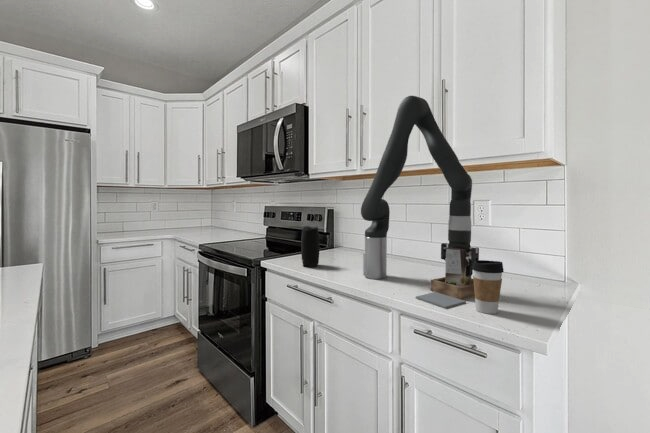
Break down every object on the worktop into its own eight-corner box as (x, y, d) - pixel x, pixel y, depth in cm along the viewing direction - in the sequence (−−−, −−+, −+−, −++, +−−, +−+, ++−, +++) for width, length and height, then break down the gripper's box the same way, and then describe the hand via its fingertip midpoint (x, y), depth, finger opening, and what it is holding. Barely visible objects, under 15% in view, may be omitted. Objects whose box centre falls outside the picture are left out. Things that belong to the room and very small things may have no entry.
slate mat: (415, 298, 110) (415, 296, 110) (435, 293, 115) (435, 291, 115) (445, 308, 99) (445, 306, 99) (465, 303, 105) (465, 301, 105)
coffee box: (463, 296, 111) (464, 250, 110) (444, 293, 115) (445, 248, 114) (471, 290, 118) (472, 246, 117) (453, 287, 122) (454, 245, 121)
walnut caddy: (430, 290, 118) (430, 279, 118) (456, 284, 126) (456, 274, 125) (460, 299, 108) (460, 288, 107) (486, 293, 115) (486, 281, 115)
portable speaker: (321, 264, 164) (321, 226, 163) (314, 268, 156) (314, 227, 154) (306, 263, 167) (306, 225, 166) (298, 267, 159) (298, 227, 157)
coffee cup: (493, 317, 92) (495, 265, 91) (465, 309, 99) (466, 260, 98) (507, 311, 97) (509, 261, 96) (480, 304, 104) (481, 257, 103)
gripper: (436, 227, 119) (435, 271, 120) (471, 230, 107) (470, 280, 108) (449, 226, 123) (448, 269, 124) (484, 229, 111) (483, 277, 112)
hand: (458, 274), depth 116 cm, fingers closed on coffee box, 7 cm apart
